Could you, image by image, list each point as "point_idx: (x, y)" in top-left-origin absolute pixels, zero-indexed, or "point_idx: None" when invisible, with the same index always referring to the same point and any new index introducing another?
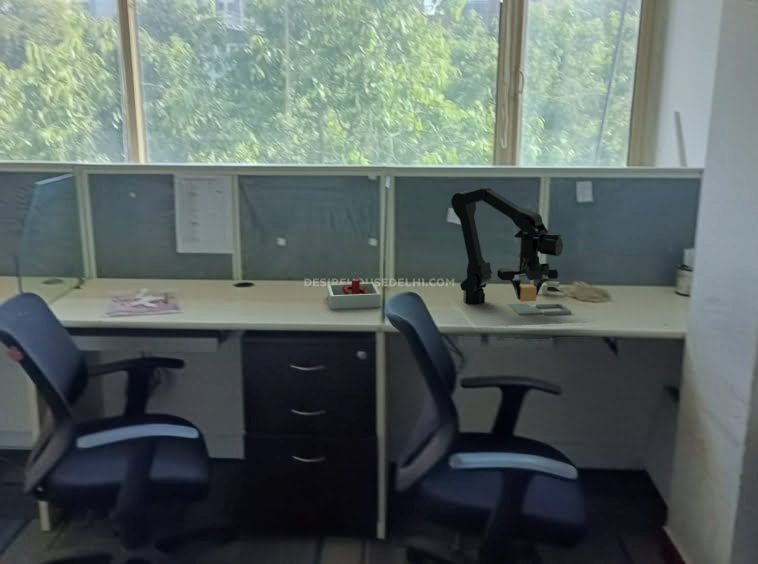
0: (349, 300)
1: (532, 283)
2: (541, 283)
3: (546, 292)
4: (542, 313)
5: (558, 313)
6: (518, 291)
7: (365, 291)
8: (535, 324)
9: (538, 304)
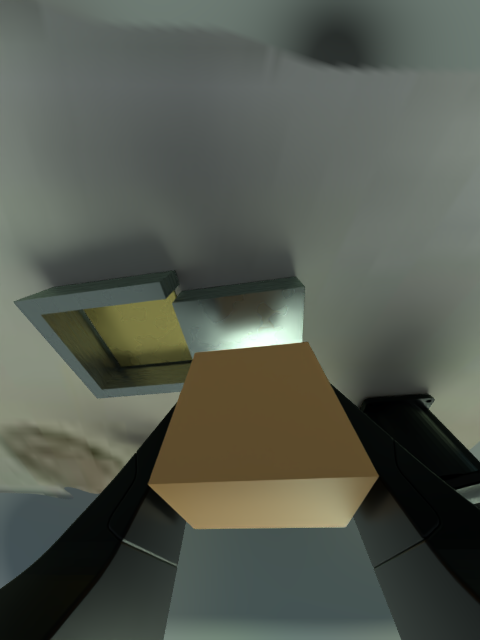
0: None
1: None
2: (39, 579)
3: None
4: (174, 300)
5: (87, 288)
6: (365, 429)
7: None
8: (229, 175)
9: None
